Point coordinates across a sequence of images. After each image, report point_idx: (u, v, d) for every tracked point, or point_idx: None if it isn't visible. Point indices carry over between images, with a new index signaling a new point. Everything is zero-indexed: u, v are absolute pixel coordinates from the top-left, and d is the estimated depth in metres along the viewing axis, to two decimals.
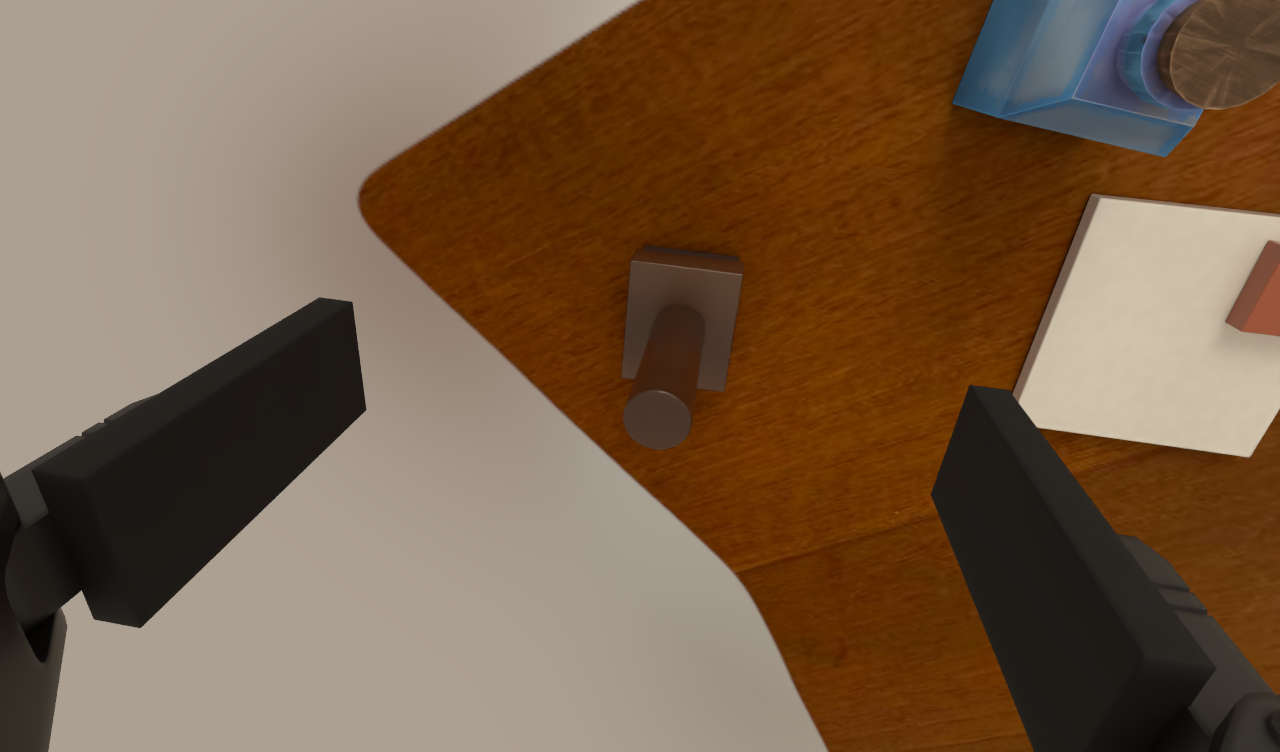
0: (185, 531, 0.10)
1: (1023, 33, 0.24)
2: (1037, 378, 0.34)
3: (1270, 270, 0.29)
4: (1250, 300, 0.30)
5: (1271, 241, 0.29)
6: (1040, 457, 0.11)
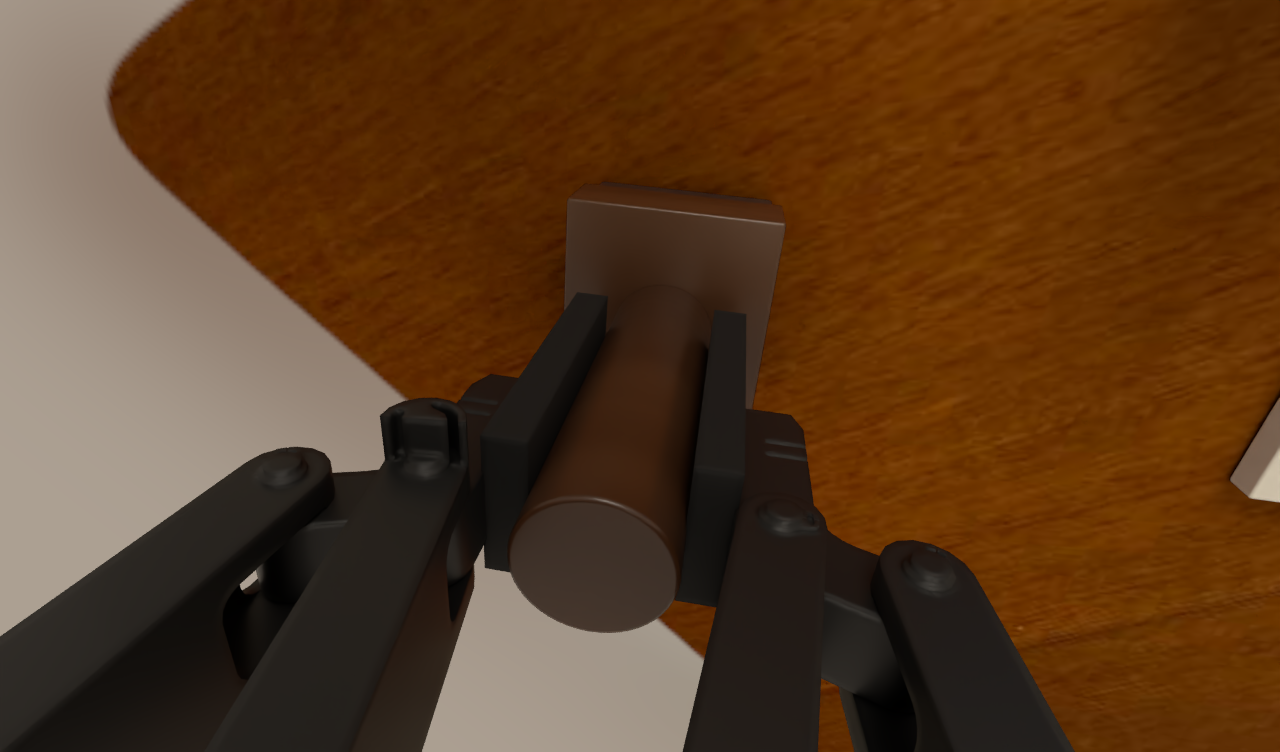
0: None
1: None
2: None
3: None
4: None
5: None
6: (729, 356, 0.13)
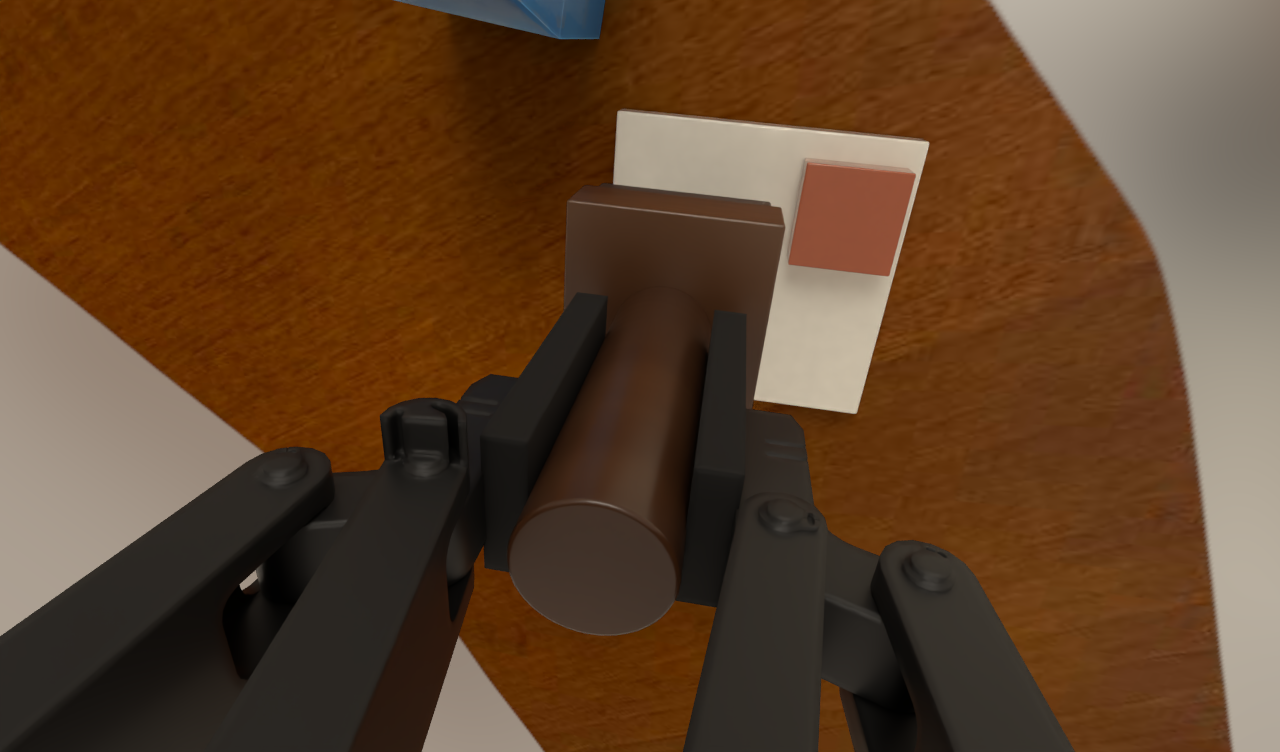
0: None
1: None
2: None
3: (801, 190, 0.25)
4: (793, 228, 0.26)
5: (806, 158, 0.26)
6: (729, 356, 0.13)
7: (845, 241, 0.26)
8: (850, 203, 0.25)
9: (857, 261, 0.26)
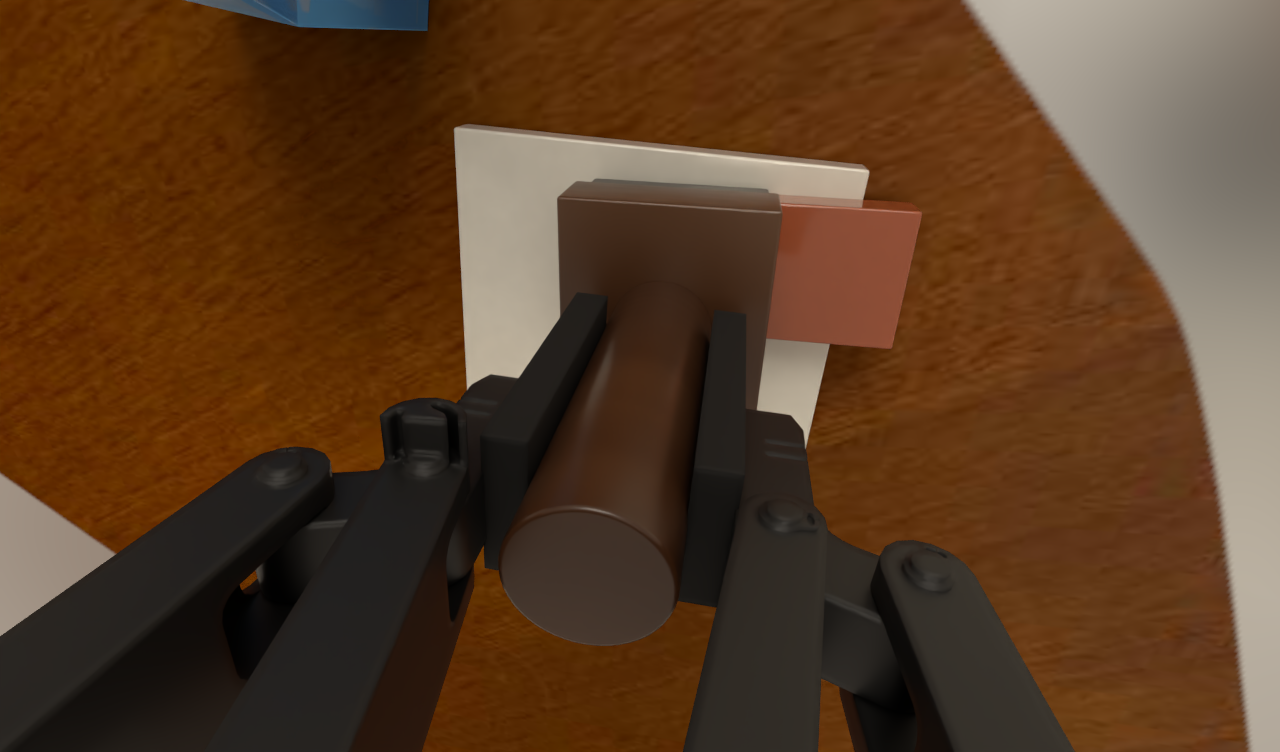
0: None
1: None
2: None
3: None
4: None
5: None
6: (729, 356, 0.13)
7: (829, 305, 0.19)
8: (833, 255, 0.18)
9: (847, 331, 0.19)
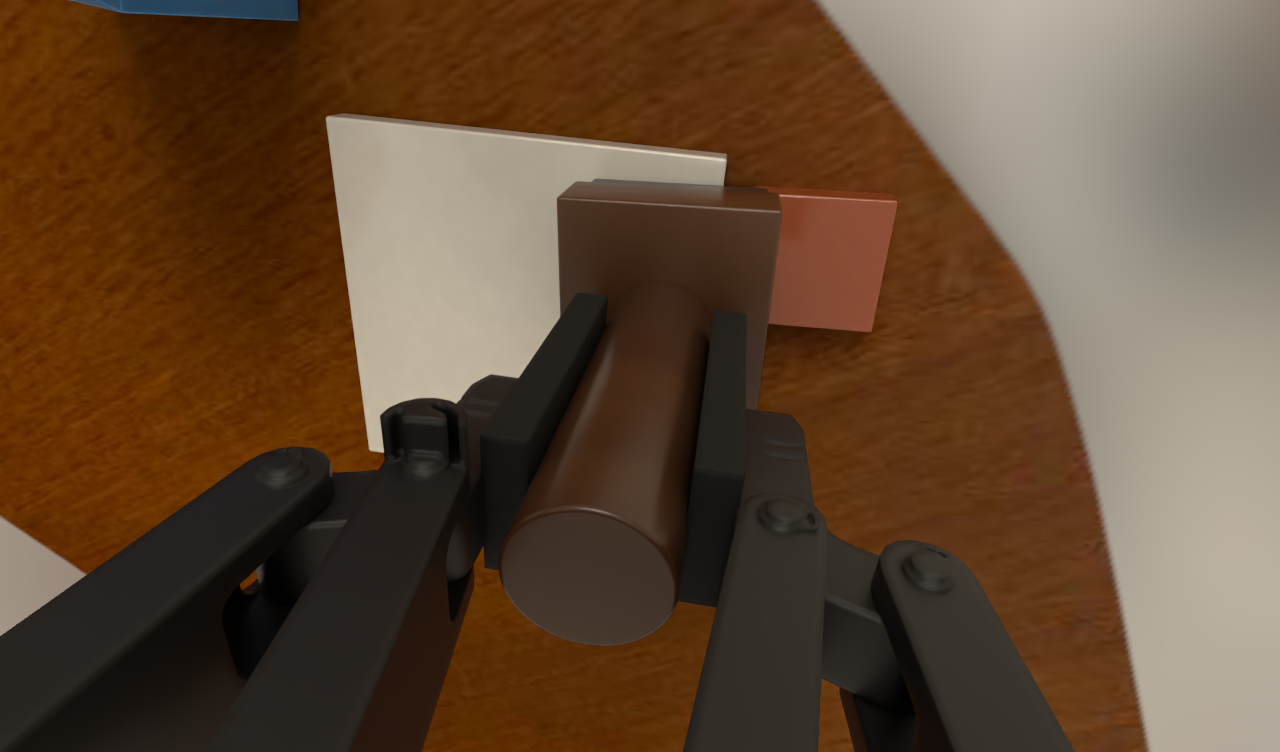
0: None
1: None
2: (371, 387, 0.24)
3: None
4: None
5: (754, 186, 0.20)
6: (729, 356, 0.13)
7: (811, 290, 0.20)
8: (814, 242, 0.19)
9: (829, 315, 0.20)
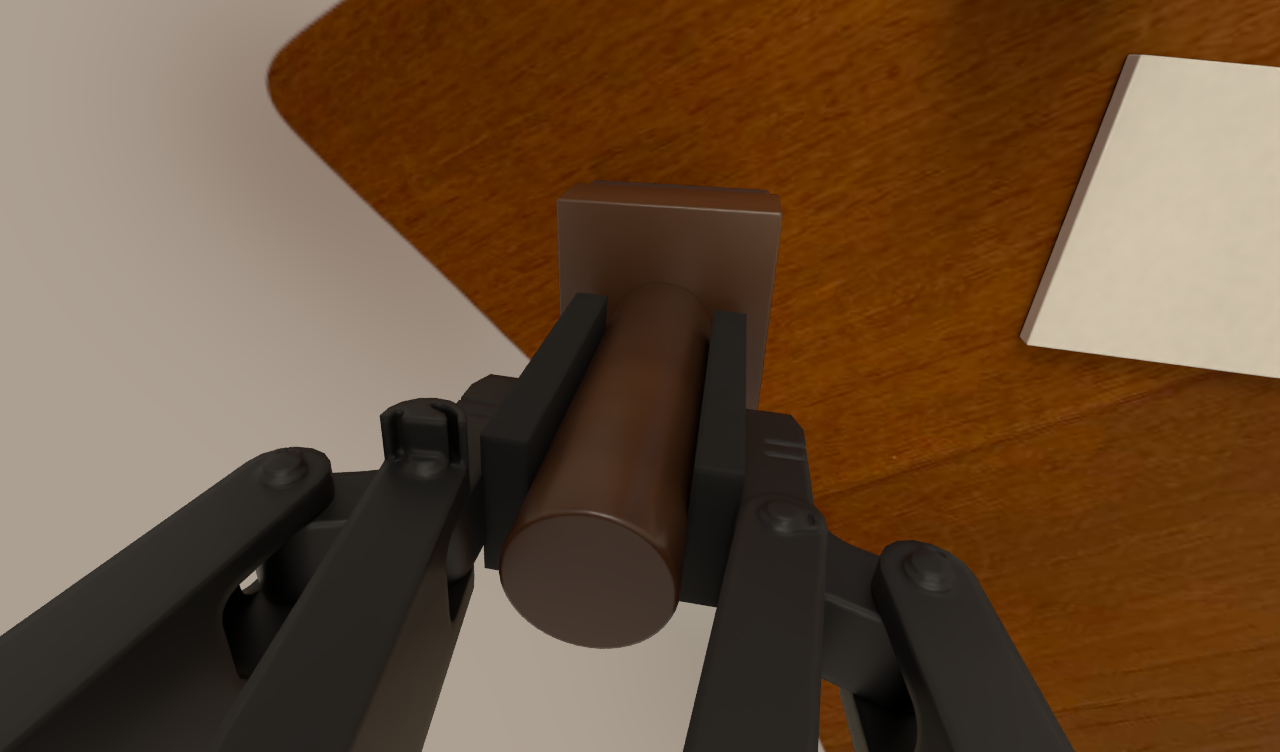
0: None
1: None
2: (1060, 287, 0.29)
3: None
4: None
5: None
6: (729, 356, 0.13)
7: None
8: None
9: None
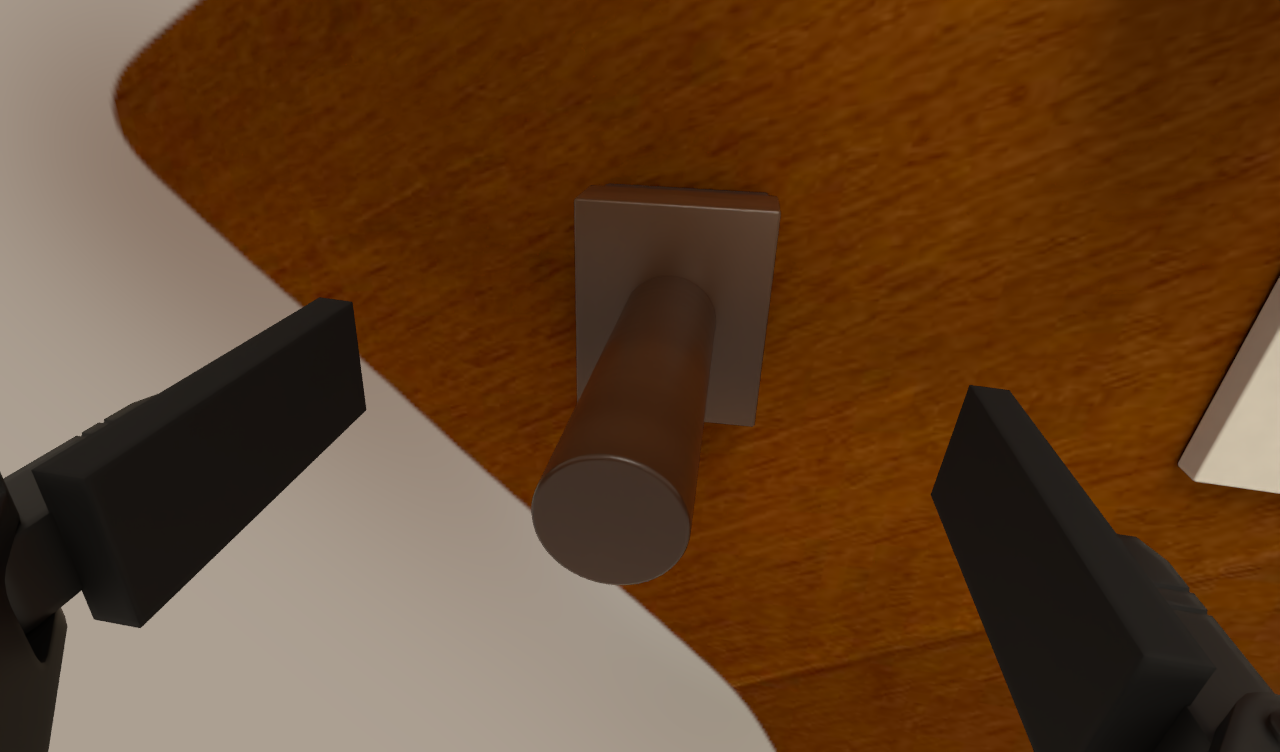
0: (185, 531, 0.10)
1: None
2: (1253, 406, 0.20)
3: None
4: None
5: None
6: (1040, 457, 0.11)
7: None
8: None
9: None
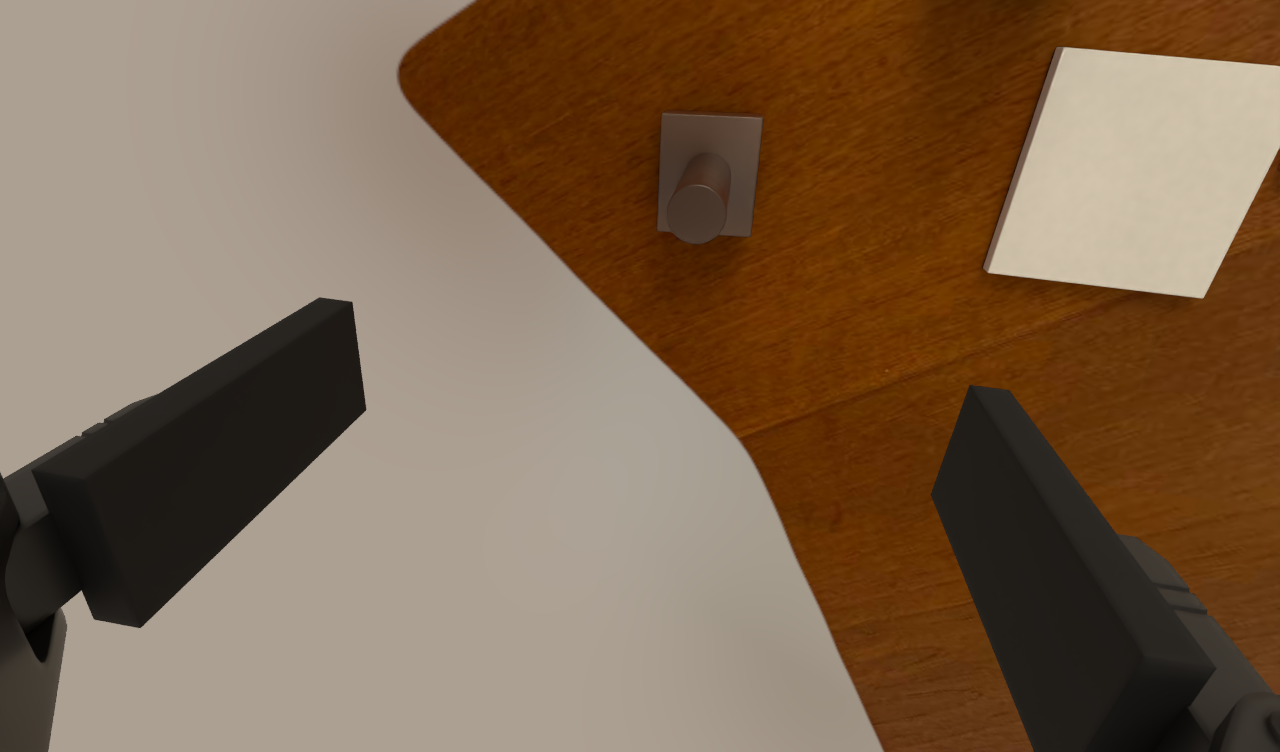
0: (185, 531, 0.10)
1: None
2: (1011, 226, 0.38)
3: None
4: None
5: None
6: (1040, 457, 0.11)
7: None
8: None
9: None
